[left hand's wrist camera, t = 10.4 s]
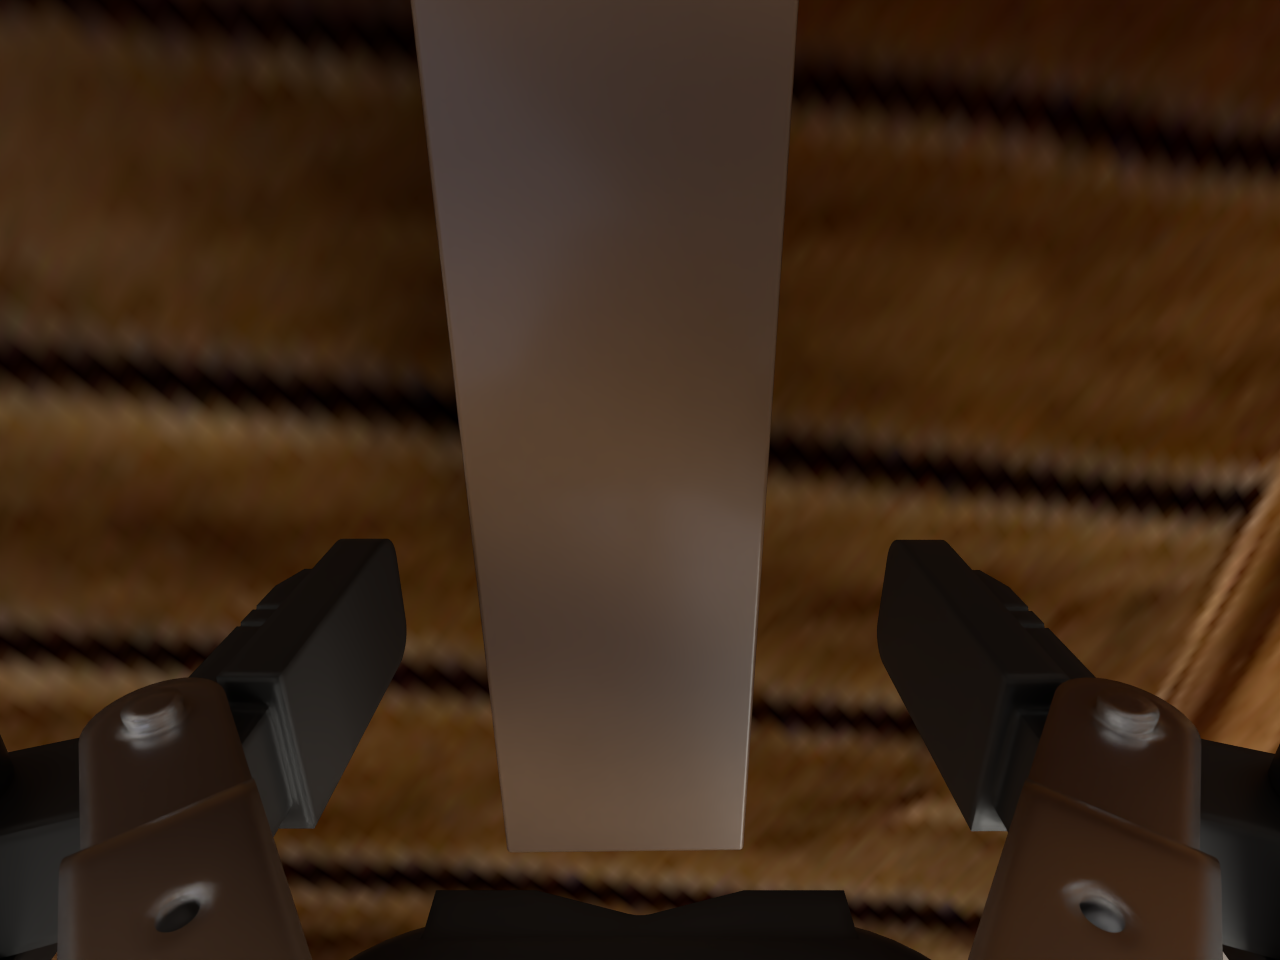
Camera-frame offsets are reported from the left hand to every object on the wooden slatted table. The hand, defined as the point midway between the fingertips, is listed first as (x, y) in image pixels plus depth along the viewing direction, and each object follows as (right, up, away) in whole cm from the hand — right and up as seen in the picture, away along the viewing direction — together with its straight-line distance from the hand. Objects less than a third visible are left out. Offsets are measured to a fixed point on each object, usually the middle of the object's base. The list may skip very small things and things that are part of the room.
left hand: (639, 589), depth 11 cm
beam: (-1, +24, -2) cm, 24 cm away
